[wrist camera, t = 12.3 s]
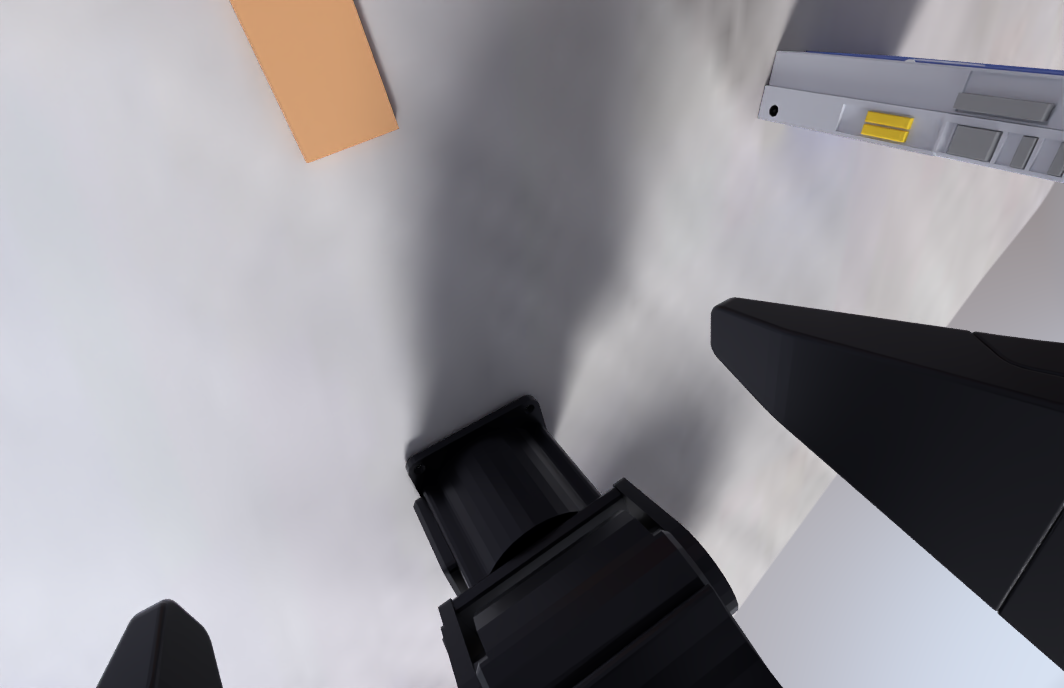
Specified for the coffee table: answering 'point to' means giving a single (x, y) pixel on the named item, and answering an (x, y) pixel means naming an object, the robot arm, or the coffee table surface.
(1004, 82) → the walkman
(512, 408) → the robot arm
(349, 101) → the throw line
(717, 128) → the coffee table surface
